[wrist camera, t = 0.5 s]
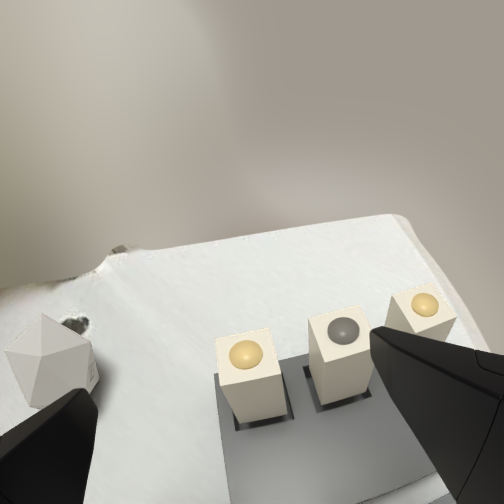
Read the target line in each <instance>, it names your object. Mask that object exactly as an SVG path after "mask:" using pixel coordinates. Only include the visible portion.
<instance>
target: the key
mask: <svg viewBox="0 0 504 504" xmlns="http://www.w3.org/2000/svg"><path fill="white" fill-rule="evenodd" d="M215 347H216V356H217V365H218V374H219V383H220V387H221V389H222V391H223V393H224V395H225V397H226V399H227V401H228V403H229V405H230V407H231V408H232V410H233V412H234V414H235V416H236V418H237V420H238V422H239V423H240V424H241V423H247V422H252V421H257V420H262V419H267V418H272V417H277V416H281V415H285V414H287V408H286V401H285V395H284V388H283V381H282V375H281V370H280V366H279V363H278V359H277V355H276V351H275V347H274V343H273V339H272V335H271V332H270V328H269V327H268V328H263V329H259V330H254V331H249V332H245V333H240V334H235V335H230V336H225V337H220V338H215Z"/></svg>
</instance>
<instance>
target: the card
mask: <svg viewBox="0 0 504 504" xmlns="http://www.w3.org/2000/svg"><path fill="white" fill-rule="evenodd" d="M429 504H456V501H455V500H454V498H453V497H452V495H451V493H448V494H446V495H445V496H443V497H441V498H439V499H437V500H435V501H433V502H431V503H429Z"/></svg>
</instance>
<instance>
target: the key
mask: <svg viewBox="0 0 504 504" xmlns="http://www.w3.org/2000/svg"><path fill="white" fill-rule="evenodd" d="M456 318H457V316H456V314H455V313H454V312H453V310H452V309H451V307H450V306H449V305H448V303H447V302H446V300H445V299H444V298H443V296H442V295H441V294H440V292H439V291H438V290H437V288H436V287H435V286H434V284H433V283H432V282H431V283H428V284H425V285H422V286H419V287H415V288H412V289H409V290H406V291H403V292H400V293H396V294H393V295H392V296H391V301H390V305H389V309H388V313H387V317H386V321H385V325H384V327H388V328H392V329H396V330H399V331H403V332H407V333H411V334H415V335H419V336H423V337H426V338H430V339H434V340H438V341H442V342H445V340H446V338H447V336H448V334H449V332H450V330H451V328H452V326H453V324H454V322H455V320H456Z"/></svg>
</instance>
